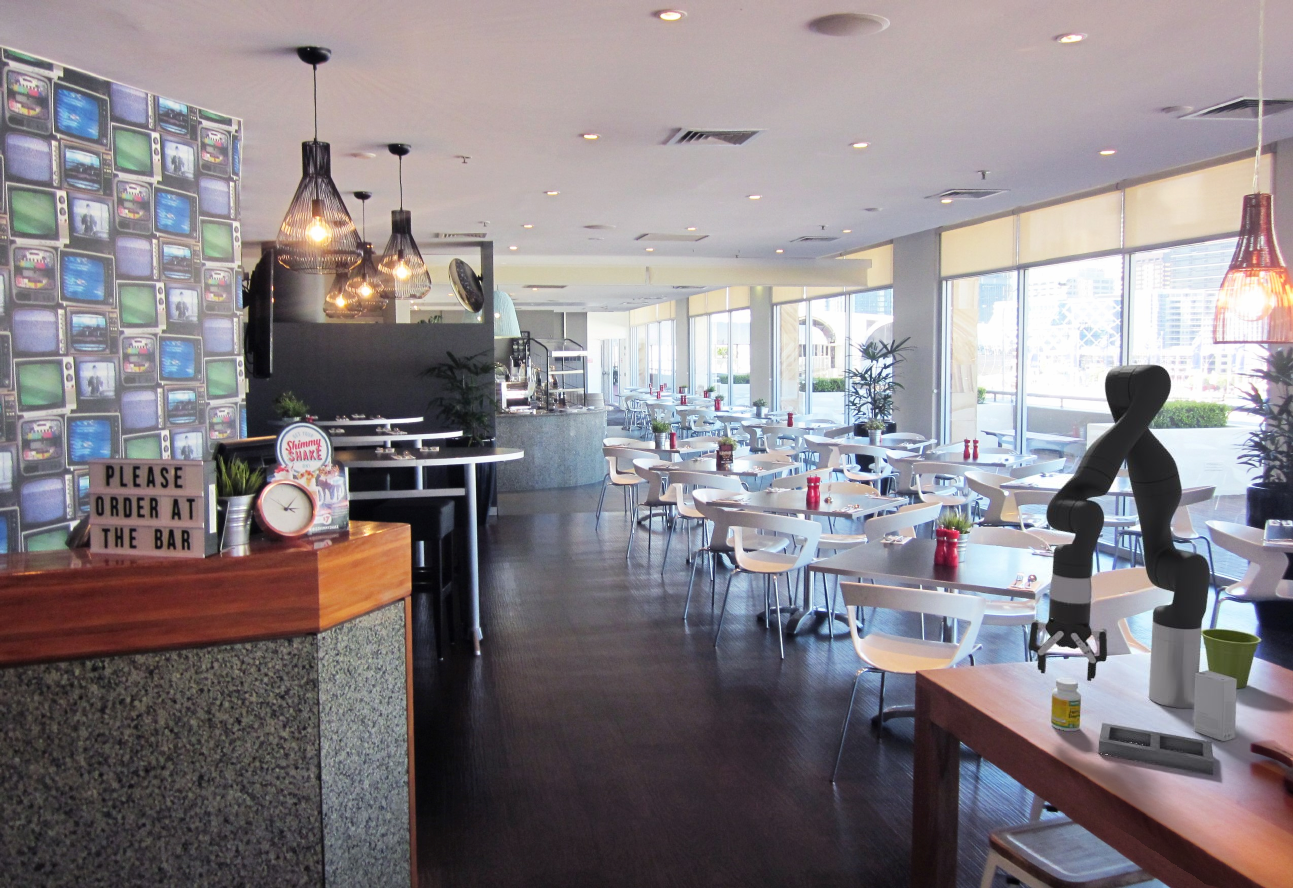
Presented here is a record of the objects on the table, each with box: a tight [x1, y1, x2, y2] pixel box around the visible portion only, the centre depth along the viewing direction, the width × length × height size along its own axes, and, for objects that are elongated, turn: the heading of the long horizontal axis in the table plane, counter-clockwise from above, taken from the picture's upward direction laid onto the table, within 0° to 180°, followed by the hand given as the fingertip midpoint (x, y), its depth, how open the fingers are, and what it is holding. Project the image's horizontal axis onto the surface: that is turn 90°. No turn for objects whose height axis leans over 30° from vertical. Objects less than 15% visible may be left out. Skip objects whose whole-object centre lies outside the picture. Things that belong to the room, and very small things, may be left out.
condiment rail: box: [1097, 722, 1214, 776], centre depth 175 cm, size 10×18×2 cm, turn 61°
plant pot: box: [1201, 628, 1262, 689], centre depth 213 cm, size 12×12×11 cm
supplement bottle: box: [1050, 677, 1082, 732], centre depth 188 cm, size 5×5×10 cm
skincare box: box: [1193, 669, 1237, 742], centre depth 184 cm, size 6×4×12 cm
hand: (1065, 675), depth 188 cm, fingers open, 8 cm apart
